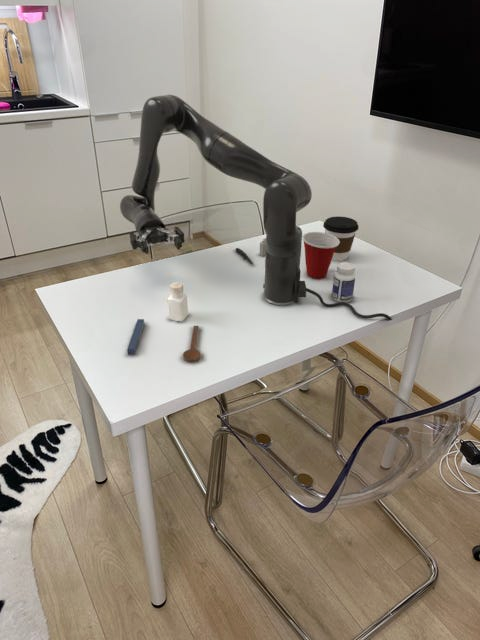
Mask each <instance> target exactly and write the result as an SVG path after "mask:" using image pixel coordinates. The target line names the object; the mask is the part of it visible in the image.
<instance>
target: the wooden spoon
mask: <svg viewBox="0 0 480 640" xmlns="http://www.w3.org/2000/svg"><path fill="white" fill-rule="evenodd" d="M199 327H200V326H199V325H193V329H192V335H191V341H190V347H189V349H187V350H185V351H184V352H183V353H182V358H183V360H184V361H185V362H186V363H191V364H192V363H196V362H199V361H200V360H201V357H202V354H201V351H200V350H199V349H197V343H198V337H199V329H200V328H199Z"/></svg>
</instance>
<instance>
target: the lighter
mask: <svg viewBox="0 0 480 640" xmlns="http://www.w3.org/2000/svg"><path fill="white" fill-rule="evenodd" d="M259 256H260V257H265V256H266V237H265V238H263V239H262V241H261V242H260V241H259Z"/></svg>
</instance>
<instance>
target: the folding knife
mask: <svg viewBox="0 0 480 640" xmlns="http://www.w3.org/2000/svg"><path fill="white" fill-rule="evenodd" d="M235 252H236V253H237V254H238V255H240V256H241V257H242V258H243V260H244V261H245V260H246V261H247V262H248V263H249V264H250V265H251V266H253V265H254V263H253V261H252V260H251V259H250V257H249V255H248V254H247V253H246V252H245V251H244V250H243V249H241V248H239V247H236V248H235Z"/></svg>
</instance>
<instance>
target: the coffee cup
mask: <svg viewBox="0 0 480 640" xmlns="http://www.w3.org/2000/svg"><path fill="white" fill-rule="evenodd" d="M322 226H323V228H324V229H325V230H324V233H327V234H330V235H333V236H335V237H336V238H338V239H339V241H340V243H339V245H338V246H337V247H336V249H335V251H334V254H333V257H332V260H331V261H334V262H344V261H346V260H347V258H348V257H349V254H350V252H351V249H352V247H353V243H354V239H355V236H356V232H357V231H358V230H359V224H358V221H357V220H356V219H353V218H351V217H347V216H339V215H337V216H331V217H328V218H326V219H325V221H323V225H322Z"/></svg>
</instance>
